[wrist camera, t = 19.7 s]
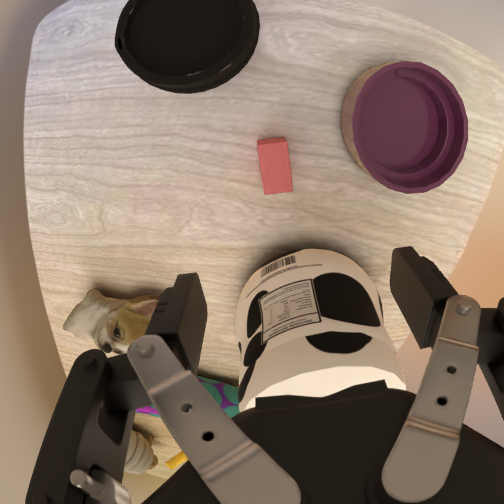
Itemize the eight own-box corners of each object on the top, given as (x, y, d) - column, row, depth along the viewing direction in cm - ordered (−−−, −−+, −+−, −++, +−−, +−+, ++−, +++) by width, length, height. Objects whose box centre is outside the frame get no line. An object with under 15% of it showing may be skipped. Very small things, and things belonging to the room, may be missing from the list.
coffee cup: (166, 27, 25) (101, -10, 12) (249, 9, 24) (244, -52, 11) (182, 101, 29) (124, 112, 16) (265, 84, 28) (273, 76, 15)
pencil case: (251, 377, 48) (249, 428, 39) (235, 404, 52) (232, 450, 44) (123, 342, 45) (104, 390, 36) (122, 373, 49) (106, 417, 41)
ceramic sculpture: (51, 305, 30) (174, 336, 33) (78, 264, 38) (183, 288, 40) (64, 362, 36) (167, 388, 38) (83, 321, 43) (175, 342, 46)
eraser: (257, 140, 31) (257, 144, 28) (284, 136, 30) (287, 141, 28) (263, 186, 33) (264, 195, 30) (290, 182, 33) (293, 191, 30)
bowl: (333, 63, 26) (344, 59, 23) (443, 68, 25) (465, 68, 21) (344, 184, 33) (356, 198, 29) (445, 177, 32) (465, 189, 28)
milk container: (325, 356, 46) (345, 461, 30) (217, 323, 42) (201, 440, 27) (393, 268, 38) (454, 373, 22) (273, 214, 35) (286, 327, 19)
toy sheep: (149, 448, 64) (141, 485, 55) (91, 415, 58) (78, 454, 49) (174, 440, 61) (166, 481, 51) (112, 405, 55) (97, 448, 45)
